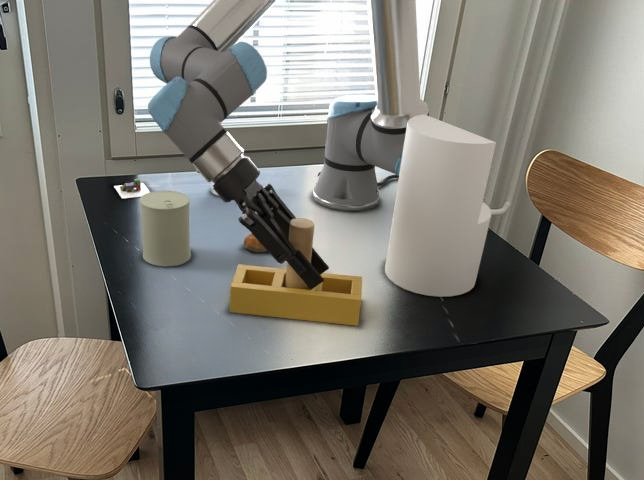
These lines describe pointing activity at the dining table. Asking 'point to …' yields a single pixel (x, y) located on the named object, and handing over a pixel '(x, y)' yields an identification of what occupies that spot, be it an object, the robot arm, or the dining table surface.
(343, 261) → the dining table surface
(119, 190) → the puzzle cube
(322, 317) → the yellow peg holder
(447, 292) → the cylinder
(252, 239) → the pastry
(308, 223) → the peg
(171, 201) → the can
